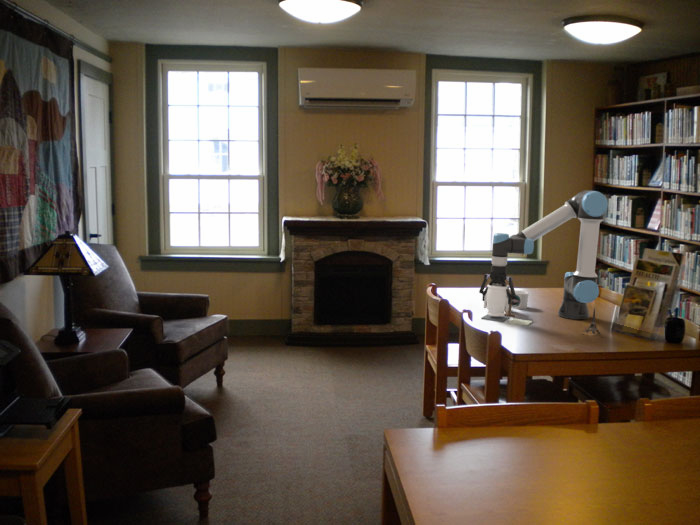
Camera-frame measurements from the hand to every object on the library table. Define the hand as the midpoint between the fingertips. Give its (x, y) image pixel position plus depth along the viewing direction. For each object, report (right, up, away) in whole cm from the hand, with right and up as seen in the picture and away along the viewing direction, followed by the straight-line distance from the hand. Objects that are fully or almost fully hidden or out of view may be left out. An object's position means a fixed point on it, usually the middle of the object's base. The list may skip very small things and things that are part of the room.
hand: (496, 309), depth 352 cm
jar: (0, -3, 0) cm, 3 cm away
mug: (+17, -1, +32) cm, 36 cm away
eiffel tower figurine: (+39, -10, -22) cm, 46 cm away
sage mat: (+11, -6, -6) cm, 14 cm away
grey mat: (0, -5, +1) cm, 5 cm away
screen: (+9, -3, +15) cm, 18 cm away
